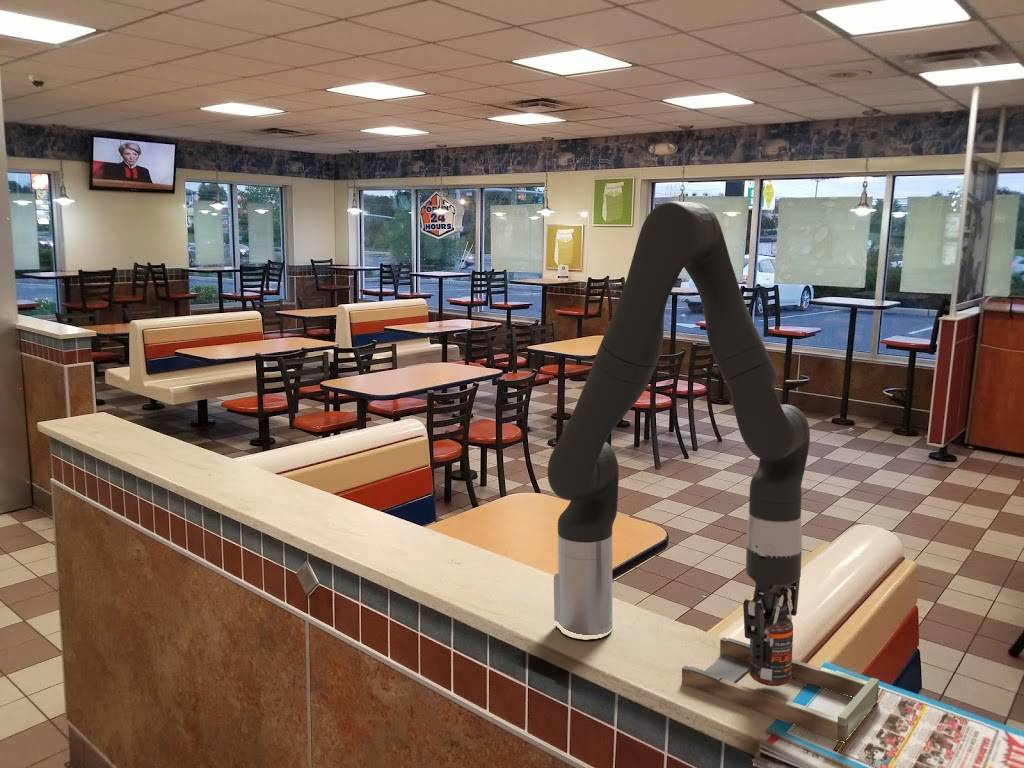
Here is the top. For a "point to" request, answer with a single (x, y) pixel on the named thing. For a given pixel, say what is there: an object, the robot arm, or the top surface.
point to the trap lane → (736, 665)
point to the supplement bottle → (775, 653)
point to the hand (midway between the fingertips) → (770, 654)
